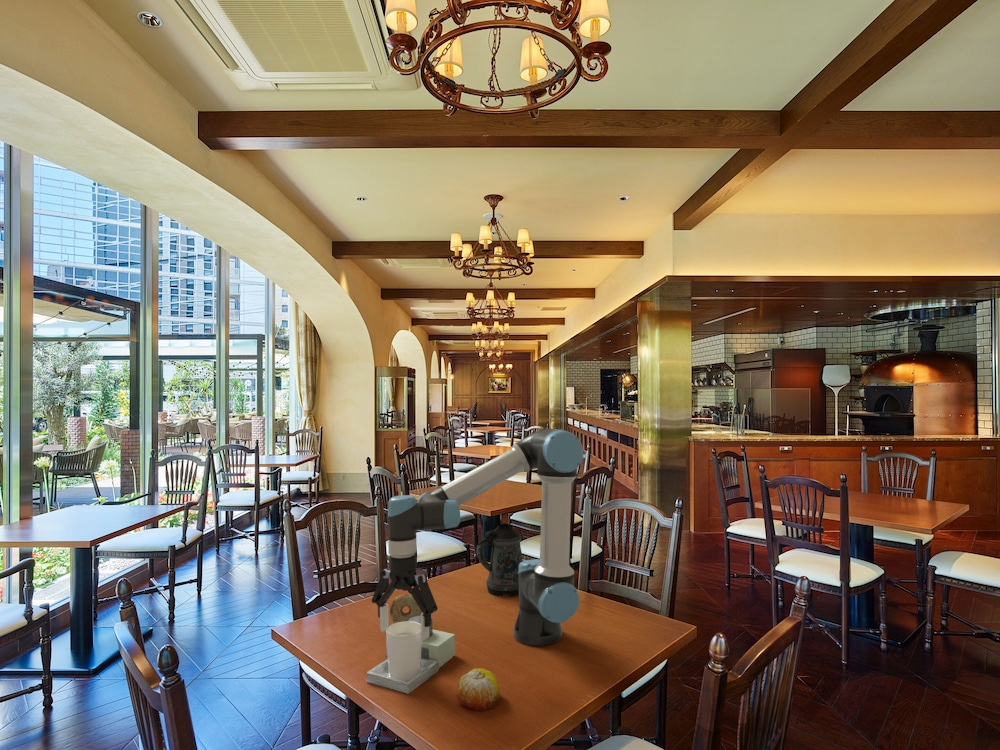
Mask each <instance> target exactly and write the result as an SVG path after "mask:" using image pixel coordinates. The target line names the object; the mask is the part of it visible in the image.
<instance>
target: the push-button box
mask: <svg viewBox="0 0 1000 750" xmlns="http://www.w3.org/2000/svg"><path fill="white" fill-rule="evenodd" d="M408 621H412V622H417V623H420V624H421V616H415V617H412V618H410V619H409V620H408ZM385 656H386V657H388V654H387V637H386V636H385ZM453 656H454V657H456V634H455V633H452V632H451V633H450V632H446V631H441V630H437V629H434V628H433V618H432V617H431V625H430V626H429V637H428V638H427V639H425V640H424V641H423V640H422V650H421V657H422V658H426V659H430V660H434V661H438V662H439V668H441V667H442V666H444V664H446V663H447V662H448V661H450V660H451V659H453V658H454V657H453Z"/></svg>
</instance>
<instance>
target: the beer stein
mask: <svg viewBox="0 0 1000 750" xmlns="http://www.w3.org/2000/svg"><path fill="white" fill-rule="evenodd" d="M521 541H522V535H521V534H520V532H518V531H516V529H514V528H513V527H512V526H511V524H510V523H509V524H508V523H502V524H497V527H496V528H494V529H491V530H488V531H486V532H485V535H484V538H482V539H480V540H479V541H478V542H477V546H476V557H477V560H479V562H480V564H481V565H482V566H483V567H484V569H486V571H488V576H487V579H486V583H485V584H486V589H487V593H489V594H490V595H492V596H495V597H499V596H501V598H515V597H519V574H518V572H519V564H520V563H521V562H523V561H524V559H523V553H522V548H521ZM486 546H489V547H490V546H491V552H490V553H491V554H490V561H488V560H487V558H485V555H484V553H483V552H484V551H483V550H484V548H485V547H486ZM489 562H490V563H489ZM514 596H515V597H514Z"/></svg>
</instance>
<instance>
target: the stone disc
mask: <svg viewBox="0 0 1000 750" xmlns="http://www.w3.org/2000/svg"><path fill="white" fill-rule="evenodd" d="M404 607H407V608H408V611H407V612H404V610H403V608H404ZM421 614H423V612H422V611H421V609H420V608H419V606H418V604H417V603H416V601H415V600H414V598H413V596H412V595H411V594H410V593H402V594H400V595H397V596H395V597H394V598H393V599H392V601H391V603H390V608H389V616H390V620H391V622H393V623H392V624H394V623H397V622H403V621H408V620H409V619H410V618H412V617H415V616H421Z"/></svg>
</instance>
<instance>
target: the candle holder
mask: <svg viewBox="0 0 1000 750" xmlns="http://www.w3.org/2000/svg"><path fill="white" fill-rule="evenodd" d="M386 637H387V654H388V656H387V659H388V670H389V677H391V678H395V679H399V680H402V681H409V680H411V679H412V678H414V677H415V676H417V675H418V674H419V673H420V669H421V650H422V640H421V624H420V623H417V622H412V621H403V622H397V623H392V624H389V626H388V627H387V629H386V630H385V638H386Z"/></svg>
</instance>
